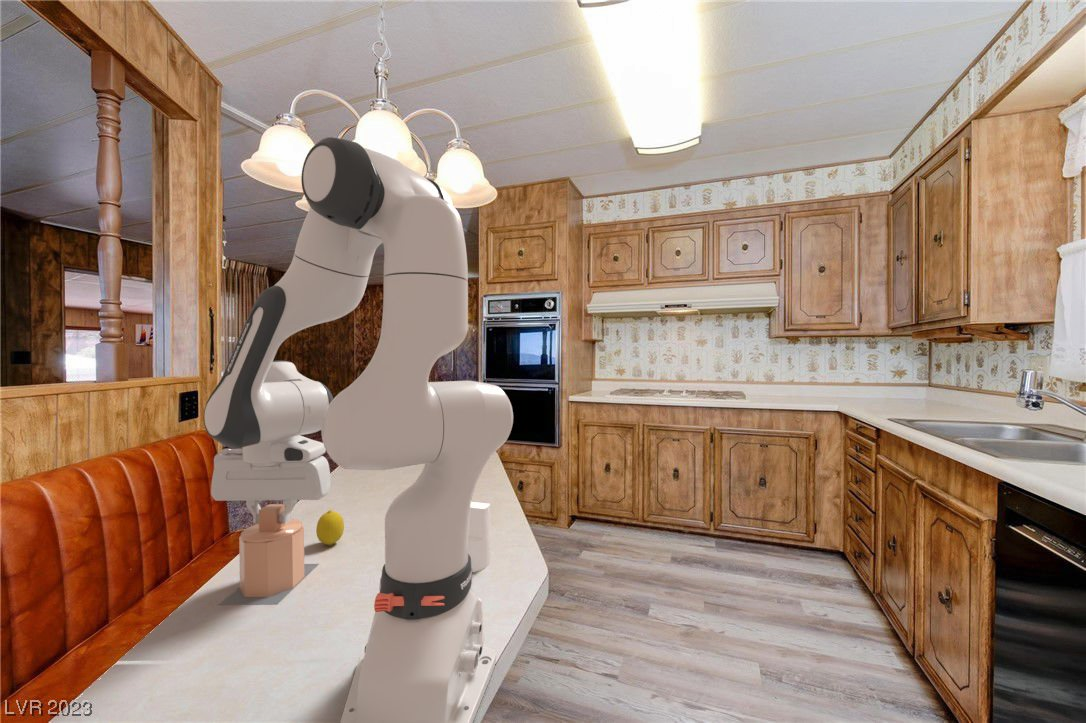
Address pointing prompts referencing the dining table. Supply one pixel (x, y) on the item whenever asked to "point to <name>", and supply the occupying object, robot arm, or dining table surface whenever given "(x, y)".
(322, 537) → the lemon
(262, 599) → the mat
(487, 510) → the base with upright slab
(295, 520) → the cloche
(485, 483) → the dining table surface
